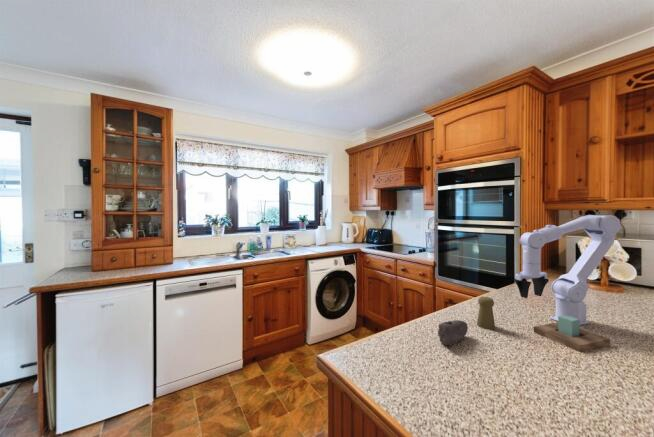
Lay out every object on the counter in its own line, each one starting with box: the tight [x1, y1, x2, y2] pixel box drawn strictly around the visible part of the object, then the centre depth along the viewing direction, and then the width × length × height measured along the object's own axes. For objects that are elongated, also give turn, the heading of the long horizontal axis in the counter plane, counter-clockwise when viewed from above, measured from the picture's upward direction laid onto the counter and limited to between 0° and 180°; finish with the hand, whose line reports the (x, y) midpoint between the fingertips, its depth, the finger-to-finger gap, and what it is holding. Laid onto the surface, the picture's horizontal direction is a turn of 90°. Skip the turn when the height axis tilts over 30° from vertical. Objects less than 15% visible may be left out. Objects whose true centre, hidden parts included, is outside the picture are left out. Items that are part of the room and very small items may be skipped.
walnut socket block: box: [533, 321, 611, 353], centre depth 90 cm, size 14×14×2 cm
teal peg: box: [557, 315, 581, 338], centre depth 91 cm, size 4×4×7 cm
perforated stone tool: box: [437, 319, 469, 346], centre depth 90 cm, size 15×5×7 cm, turn 120°
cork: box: [476, 296, 496, 330], centre depth 101 cm, size 6×6×11 cm
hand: (531, 296), depth 105 cm, fingers open, 7 cm apart
